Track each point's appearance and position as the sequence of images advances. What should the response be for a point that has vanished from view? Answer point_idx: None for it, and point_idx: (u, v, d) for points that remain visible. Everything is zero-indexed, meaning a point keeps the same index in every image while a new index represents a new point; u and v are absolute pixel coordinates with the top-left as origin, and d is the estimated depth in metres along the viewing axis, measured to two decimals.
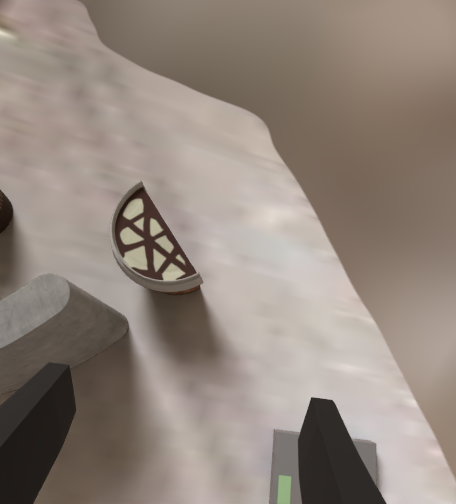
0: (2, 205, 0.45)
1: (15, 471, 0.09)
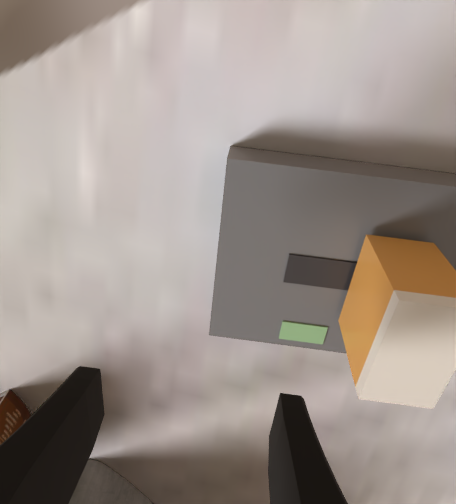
0: None
1: (52, 476, 0.09)
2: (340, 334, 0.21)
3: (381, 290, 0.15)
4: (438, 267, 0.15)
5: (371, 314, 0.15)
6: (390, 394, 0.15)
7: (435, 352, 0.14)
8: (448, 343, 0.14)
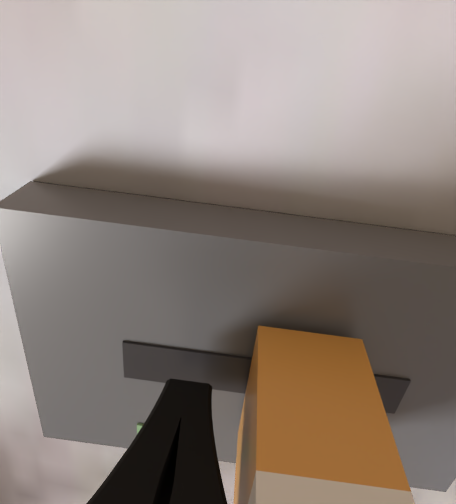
0: None
1: (164, 492, 0.09)
2: (221, 441, 0.15)
3: (252, 448, 0.09)
4: (355, 399, 0.09)
5: (245, 476, 0.09)
6: None
7: None
8: None
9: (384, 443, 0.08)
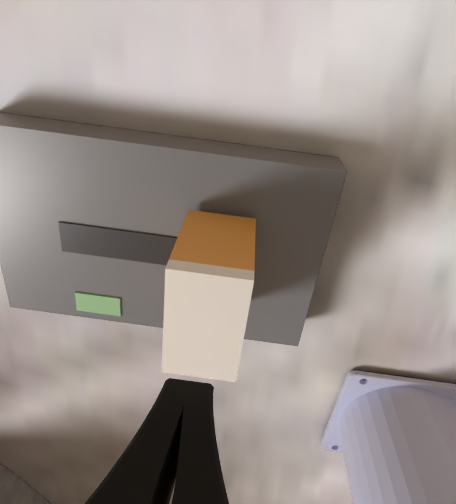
0: None
1: (162, 492, 0.09)
2: (135, 306, 0.21)
3: None
4: (238, 240, 0.15)
5: None
6: (191, 367, 0.15)
7: (219, 323, 0.14)
8: (227, 313, 0.14)
9: (248, 255, 0.14)
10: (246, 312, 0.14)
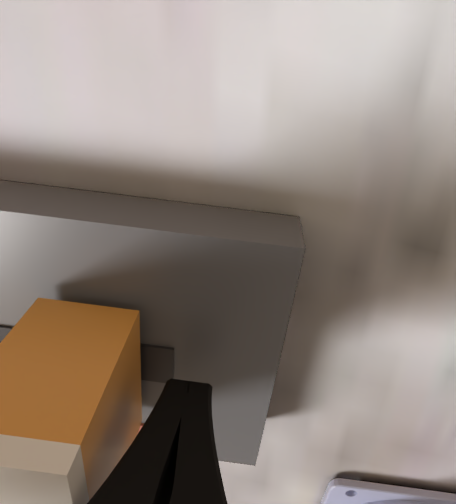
0: None
1: (164, 492, 0.09)
2: None
3: None
4: (87, 363, 0.09)
5: None
6: None
7: None
8: None
9: (86, 402, 0.08)
10: None
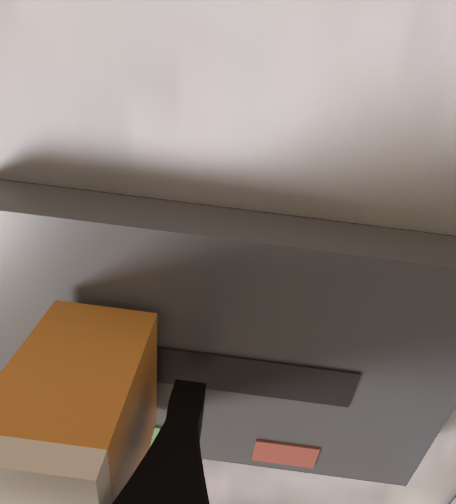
0: None
1: None
2: None
3: None
4: (109, 367, 0.09)
5: None
6: None
7: None
8: None
9: (110, 406, 0.08)
10: None
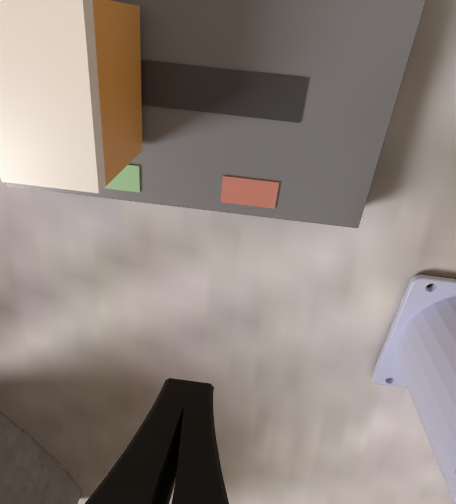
0: None
1: (162, 492, 0.09)
2: (158, 177, 0.17)
3: None
4: None
5: None
6: (36, 171, 0.11)
7: (53, 85, 0.10)
8: (61, 65, 0.10)
9: None
10: (84, 59, 0.10)
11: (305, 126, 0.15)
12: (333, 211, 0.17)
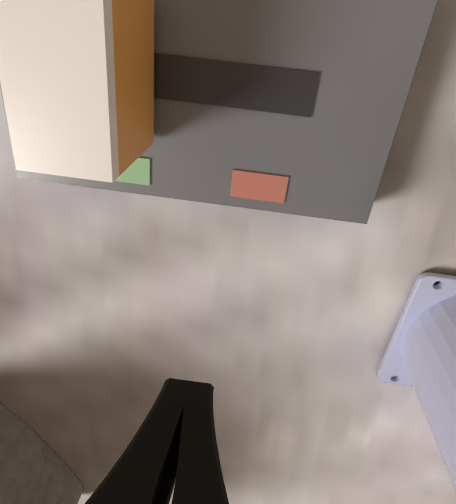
0: None
1: (162, 492, 0.09)
2: (168, 170, 0.17)
3: None
4: None
5: None
6: (51, 160, 0.12)
7: (70, 73, 0.10)
8: (78, 54, 0.10)
9: None
10: (102, 47, 0.10)
11: (316, 121, 0.15)
12: (342, 206, 0.17)
